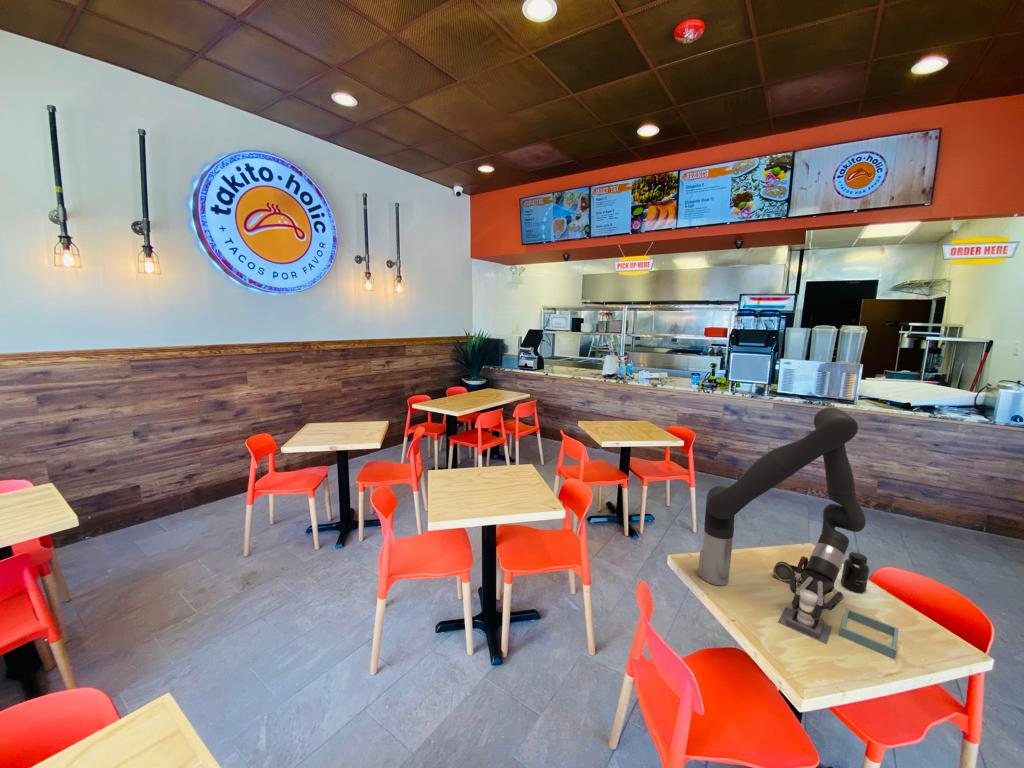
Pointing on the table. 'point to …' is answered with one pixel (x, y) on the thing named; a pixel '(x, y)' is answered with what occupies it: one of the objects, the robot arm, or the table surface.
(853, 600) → the table surface
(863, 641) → the parts tray
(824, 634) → the grey recessed base plate
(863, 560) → the supplement bottle
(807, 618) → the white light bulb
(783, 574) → the goggles
